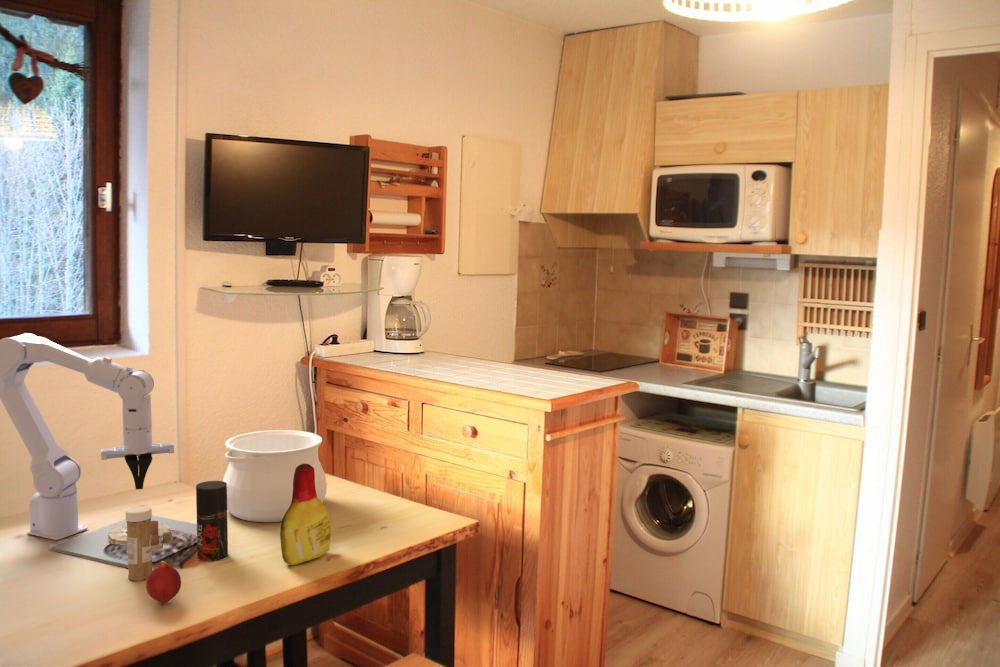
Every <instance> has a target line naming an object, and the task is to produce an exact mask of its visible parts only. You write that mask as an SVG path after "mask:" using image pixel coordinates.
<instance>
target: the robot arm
mask: <svg viewBox="0 0 1000 667" xmlns="http://www.w3.org/2000/svg"><path fill="white" fill-rule="evenodd" d="M112 360H113V359H112V357H110V356H105V357H96V358H94V359H90V358H89V357H86V356H84V355H83V354H82V355H81V353H79V352H76V351H73V350H71V349H69V348H66V347H65V346H62V345H60V344H59V343H58V344H57V343H56V342H53V341H51V340H50V339H48V338H46V337H43V336H37V335H36V334H34V333H29V332H28V333H27V332H24V333H22V334H19V335H15V336H11V337H3V338H1V339H0V401H1V403H2V405H3V407H4V409H5V410H6V412H7V414H8V416H9V418H10V420H11V421H12V423H13V425H14V427H15V429H16V431H17V433H18V434H19V436H20V438H21V440H22V442H23V444H24V446H25V447H26V449H27V451H28V453H29V455H30V457H31V462H30V468H29V469H30V472H31V474H32V477H33V487H34V489H35V491H36V492H35V493H33V495H32V496H31V498H30V501H29V504H28V506H29V507H28V509H29V527H30V529H29V530H27V531H26V534H28V535H32V536H36V537H40V538H45V539H48V540H49V539H50V540H55V541H58V540H62V539H64V538H67V537H70V536H72V535H76V534H78V533H81V532H84V531H86V530H88V526H84V525H81V524H79V513H78V512H79V511H78V509H79V508H78V487H77V485H76V484H77V482H78V481H79V480H80V478H81V475H82V469H81V468H82V467H81V465H80V464H79V462H78V461H77V460H75V459H74V458H72V457H71V455H70V454H69V453H68V451H67V450H66V449H65V448H63V447H61V446H60V445H58V443H57V441H56V439H55V438H54V436H53V434H52V432H51V430H50V429H49V427H48V425H47V423H46V421H45V418H44V417H43V415H42V413H41V411H40V409H39V408H38V406H37V405H36V402H35V400H34V399H33V396H32V395H31V393H30V391H29V389H28V388H27V385H26V384H25V379H26V376H27V374H28V372H29V371H30V368H31V367H32V366H33V365H34V364H35V363H41V362H49V363H52V364H53V365H54V364H55V365H58V366H61V367H64V368H65V369H66V368H67V369H70V370H72V371H76V372H77V373H81V374H83V375H84V377H85V378H86V381H87V382H88V383H91V384H93V385H96V386H99V387H101V388H104V389H107V390H109V391H111V392H113V393H117V394H118V396H119V397H120V398H121V399H122V435H123V438H122V439H123V445H122V446H115V447H109V448H103V449H100V458H101V461H107V460H108V459H109V460H110V459H118V458H119V459H120V458H123V459H124V461H125V462H126V465H127V467H128V469H129V470H130V472H131V476H132V477H133V481H134V488H135V490H144V483H145V478H146V476H147V472H148V470H149V468H150V466H151V463H152V462H153V455H161V454H175V444H174V442H165V443H164V442H160V443H159V442H157V443H153V435H152V434H153V432H152V431H153V430H152V429H153V428H152V403H151V397H152V396H151V392H152V391H153V389H154V387H155V381H154V378H153V376H152V375H151V374H150V373H149V372H147V371H145V370H144V369H136V370H133V369H134V367H132V366H127V367H126V366H123V365H122V364H119V363H116V362H114V361H112Z"/></svg>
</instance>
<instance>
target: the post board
mask: <svg viewBox="0 0 1000 667" xmlns="http://www.w3.org/2000/svg"><path fill="white" fill-rule="evenodd" d="M126 521H127V520H126V518H124V519H123V520H120V521H117V522H114V523H112V524H109V525H106V526H104V527H101V528H97V529H95V530H92V531H89V532H87V533H85V534H82V535H79V536H76V537H74V538H71V539H68V540H65V541H63V542H60V543H57V544H54V545H52V546H50V548H49V550H50V551H54V552H58V553H61V554H66V555H70V556H74V557H80V558H84V559H87V560H88V559H89V560H91V561H92V560H93V561H97V562H101V563H104V564H109V565H114V566H117V567H122V568H126V569H128V561H118V560H115V559H111V558H109V557H107V556H105V555H104V554H103V549H104V548H105V547H106V546H107V545H109V544H111V542H110V541H109V540H108V533H109V532H110V531H112V530H114V529H115V528H117V527H119V526H122V525H127V522H126ZM151 521H158V522H161V523H162V524H163V523H165V524H166V525H167V526H168V527H169V528H170V530H181V531H186V532H189V533H192V534H194V535H196V536H197V523H193V522H188V521H184V520H183V521H182V520H176V519H173V518H168V517H161V516H157V515H153V514H152V517H151Z"/></svg>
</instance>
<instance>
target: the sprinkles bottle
mask: <svg viewBox="0 0 1000 667" xmlns="http://www.w3.org/2000/svg"><path fill="white" fill-rule="evenodd" d="M152 515H153V512H152V507H150V506H148V505H136V506H131V507H129V508H127V509H126V510H125V519H126V520H127V521H126V522H127V553H128V568H127V569H128V574H127V578H128V579H129V580H131V581H134V582H135V581H144V580H147V578H148V576H149V575H150V573H151V572H152V571H153V570H154V569H153V563H152V535H151V517H152Z"/></svg>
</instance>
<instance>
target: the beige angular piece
mask: <svg viewBox="0 0 1000 667" xmlns="http://www.w3.org/2000/svg"><path fill="white" fill-rule="evenodd" d="M165 531H170V528H169V527H168V526H167V525H166V524H165V523H163V524H162V523H161V522H158V521H151V535H152V551H155V550H159V549H162V548H163V544H162V543H161V542H160V541H159V538H162V537H163V532H165ZM108 540H109V541H110V542H111V543H112V544H120V545H127V525H122V526H119V527H117V528H115V529H114V530H112V531H110V532H109V533H108Z"/></svg>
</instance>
